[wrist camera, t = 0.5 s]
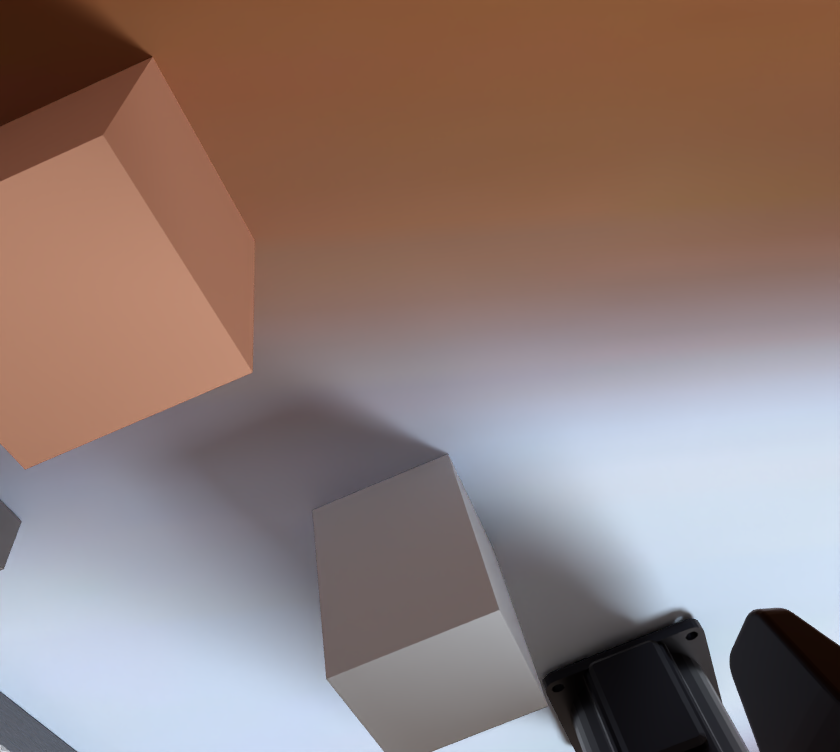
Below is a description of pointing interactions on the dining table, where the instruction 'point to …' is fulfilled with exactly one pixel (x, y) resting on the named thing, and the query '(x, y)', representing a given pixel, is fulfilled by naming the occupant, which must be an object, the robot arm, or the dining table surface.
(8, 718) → the mounted unit
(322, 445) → the dining table surface
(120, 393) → the terracotta block
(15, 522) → the charcoal tray
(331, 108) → the dining table surface
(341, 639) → the grey block
